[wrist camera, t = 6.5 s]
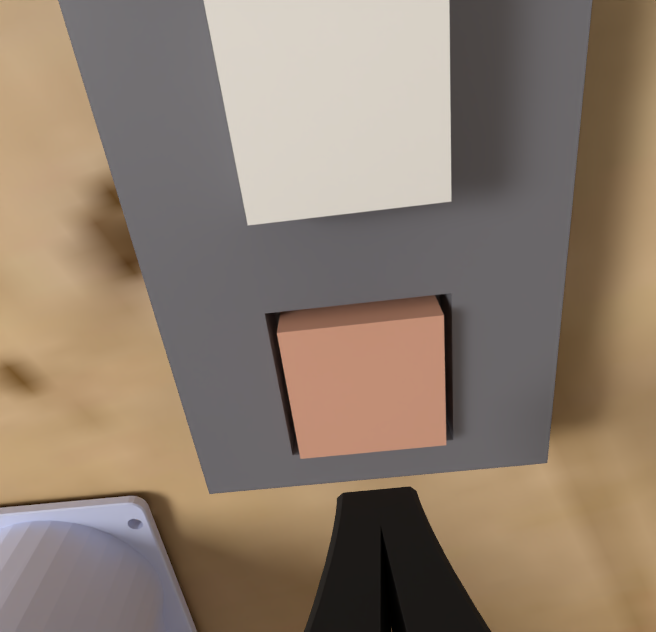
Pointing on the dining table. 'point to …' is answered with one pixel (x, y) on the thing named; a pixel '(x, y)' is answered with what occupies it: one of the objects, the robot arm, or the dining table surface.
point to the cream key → (335, 103)
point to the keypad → (347, 236)
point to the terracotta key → (365, 376)
